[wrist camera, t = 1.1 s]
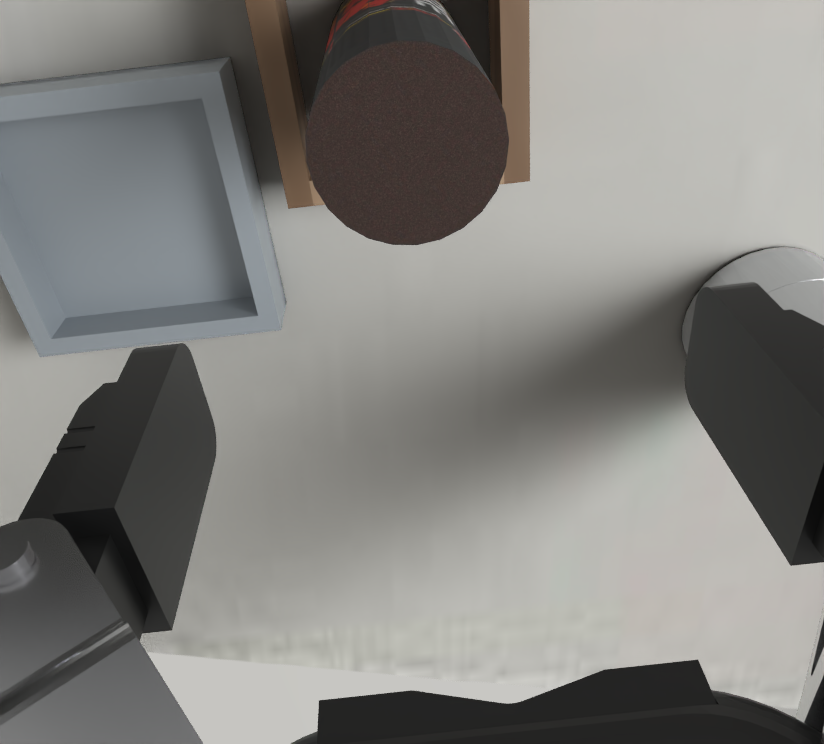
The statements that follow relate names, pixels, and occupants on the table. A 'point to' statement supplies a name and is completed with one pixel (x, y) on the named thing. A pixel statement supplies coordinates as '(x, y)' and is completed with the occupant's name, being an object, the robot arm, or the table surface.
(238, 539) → the table surface
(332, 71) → the deodorant
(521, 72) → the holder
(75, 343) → the tray
